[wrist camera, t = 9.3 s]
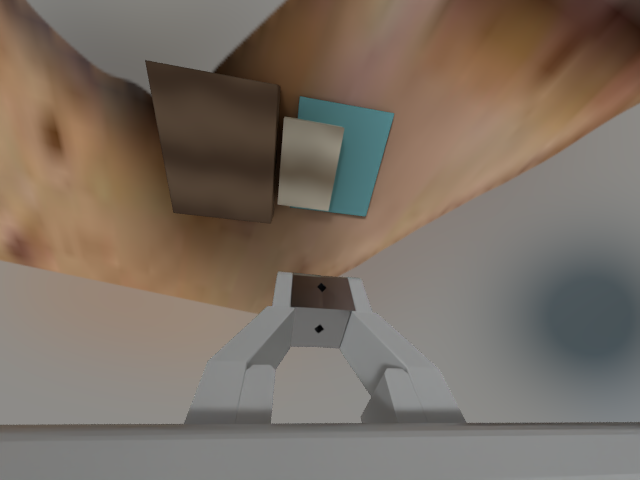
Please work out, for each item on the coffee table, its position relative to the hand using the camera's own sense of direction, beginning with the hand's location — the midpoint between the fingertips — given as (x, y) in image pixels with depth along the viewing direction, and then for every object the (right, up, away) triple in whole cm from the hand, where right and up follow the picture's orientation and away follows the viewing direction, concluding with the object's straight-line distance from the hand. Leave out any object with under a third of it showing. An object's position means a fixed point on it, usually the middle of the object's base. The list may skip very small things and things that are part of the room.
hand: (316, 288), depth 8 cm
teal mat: (+2, +11, +18) cm, 21 cm away
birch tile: (-1, +10, +18) cm, 21 cm away
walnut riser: (-10, +12, +17) cm, 23 cm away
